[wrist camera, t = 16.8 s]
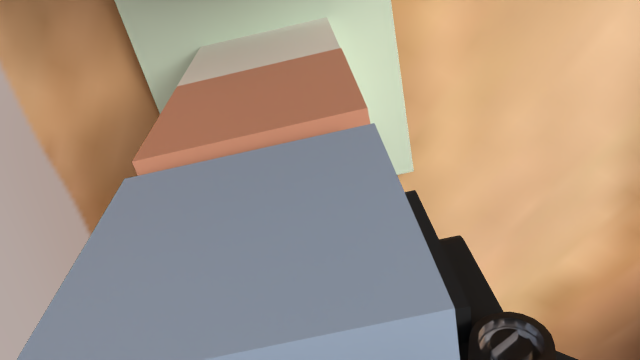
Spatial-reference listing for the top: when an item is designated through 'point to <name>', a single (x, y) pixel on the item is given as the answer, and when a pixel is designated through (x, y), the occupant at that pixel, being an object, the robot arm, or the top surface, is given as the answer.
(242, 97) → the rust brick
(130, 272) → the slate brick
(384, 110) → the plate
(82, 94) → the top surface
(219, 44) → the ivory brick
